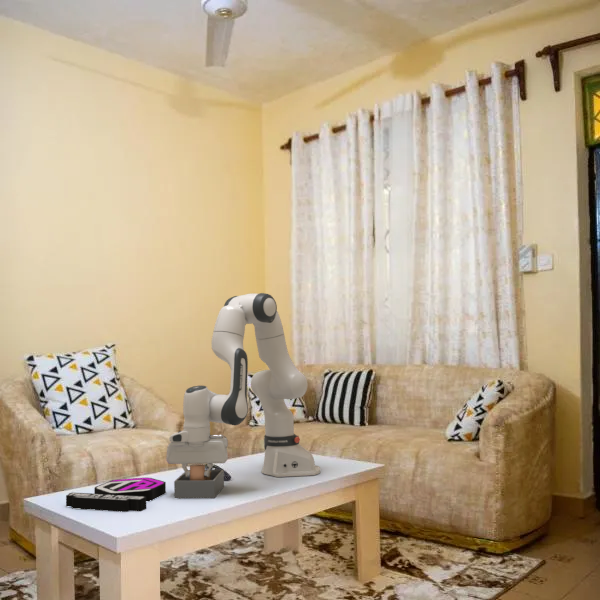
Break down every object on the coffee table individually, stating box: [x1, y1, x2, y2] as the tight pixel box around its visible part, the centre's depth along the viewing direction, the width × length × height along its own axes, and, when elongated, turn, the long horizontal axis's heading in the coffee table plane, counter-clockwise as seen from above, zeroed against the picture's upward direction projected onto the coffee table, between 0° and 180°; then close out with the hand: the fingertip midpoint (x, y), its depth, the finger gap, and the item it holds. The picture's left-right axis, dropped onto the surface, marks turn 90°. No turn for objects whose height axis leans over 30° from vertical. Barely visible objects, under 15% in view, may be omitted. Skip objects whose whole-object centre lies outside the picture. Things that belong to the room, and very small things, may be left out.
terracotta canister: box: [189, 464, 206, 481], centre depth 213 cm, size 5×5×7 cm
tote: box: [173, 469, 225, 499], centre depth 217 cm, size 13×17×6 cm
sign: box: [65, 477, 167, 513], centre depth 211 cm, size 27×4×30 cm
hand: (197, 476), depth 213 cm, fingers closed on terracotta canister, 5 cm apart
